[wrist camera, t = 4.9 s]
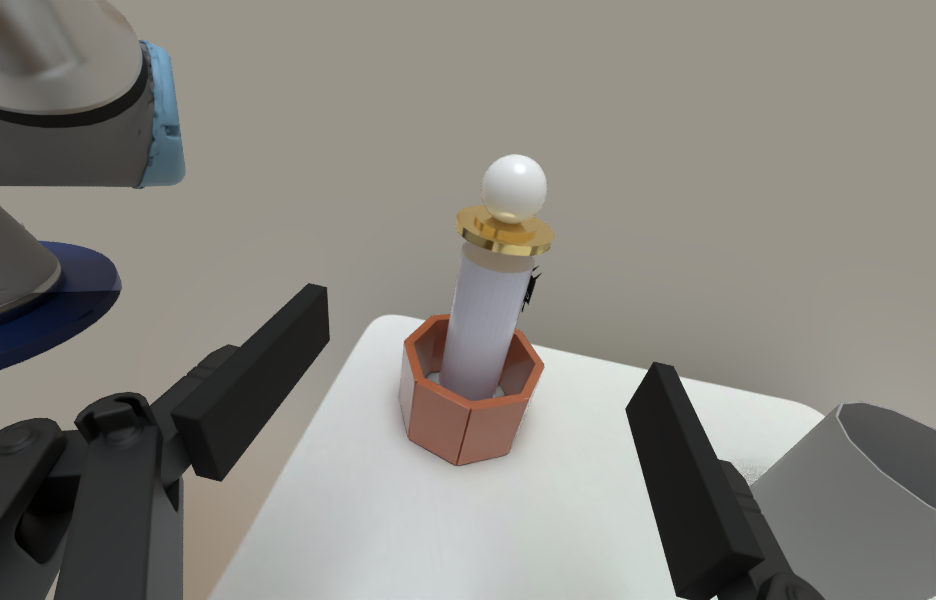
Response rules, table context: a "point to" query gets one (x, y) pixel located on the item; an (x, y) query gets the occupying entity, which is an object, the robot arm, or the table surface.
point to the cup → (857, 505)
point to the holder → (464, 399)
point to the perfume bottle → (494, 274)
